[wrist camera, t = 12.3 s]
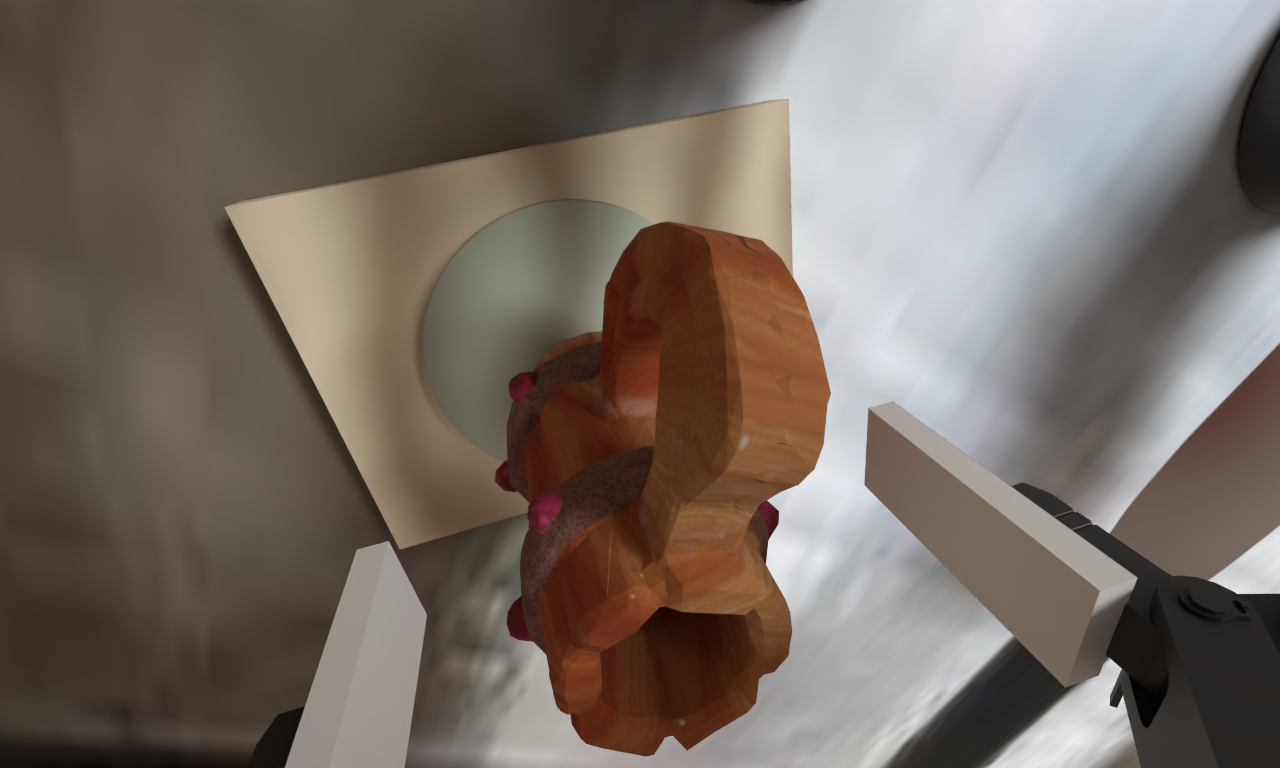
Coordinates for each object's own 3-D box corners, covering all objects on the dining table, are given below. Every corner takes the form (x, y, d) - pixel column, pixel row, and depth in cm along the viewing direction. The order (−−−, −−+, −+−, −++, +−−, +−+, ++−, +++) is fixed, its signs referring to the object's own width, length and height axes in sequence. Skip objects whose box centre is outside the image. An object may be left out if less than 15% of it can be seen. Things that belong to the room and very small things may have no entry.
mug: (647, 487, 28) (783, 802, 15) (489, 483, 26) (488, 855, 13) (721, 203, 23) (1034, 319, 10) (526, 163, 20) (595, 246, 7)
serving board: (772, 99, 24) (798, 98, 22) (783, 421, 32) (803, 441, 30) (241, 201, 20) (214, 210, 18) (403, 529, 29) (397, 560, 27)
